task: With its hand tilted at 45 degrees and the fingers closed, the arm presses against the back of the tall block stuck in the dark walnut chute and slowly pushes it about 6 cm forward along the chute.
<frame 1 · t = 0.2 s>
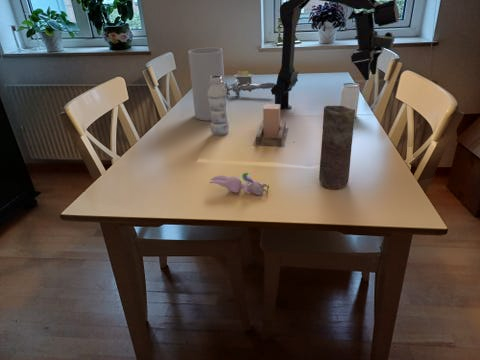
hand: (370, 77, 123), 15 cm above the table, fingers open, 9 cm apart
plastic bottle: (220, 135, 123), on the table
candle: (332, 183, 91), on the table
can: (347, 116, 134), on the table
cylinder vase: (210, 116, 141), on the table
block: (271, 121, 116), point 6 cm above the table, slide at 0.0 cm
purple toy figure: (239, 192, 89), on the table
platform: (244, 84, 185), on the table
spaceship: (238, 97, 164), on the table
chute: (271, 138, 118), on the table
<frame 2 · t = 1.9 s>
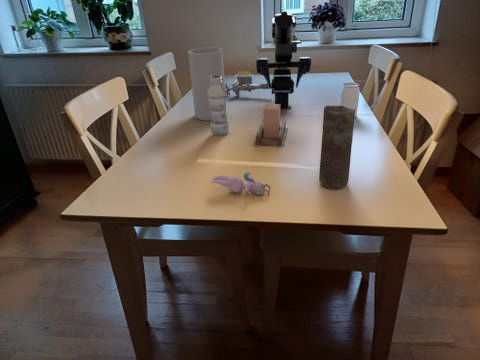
hand: (283, 87, 121), 14 cm above the table, fingers open, 9 cm apart
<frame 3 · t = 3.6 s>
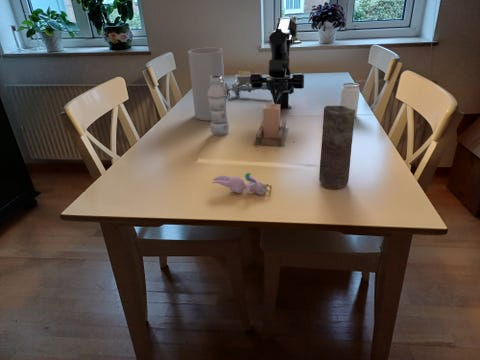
hand: (275, 102, 122), 9 cm above the table, fingers closed
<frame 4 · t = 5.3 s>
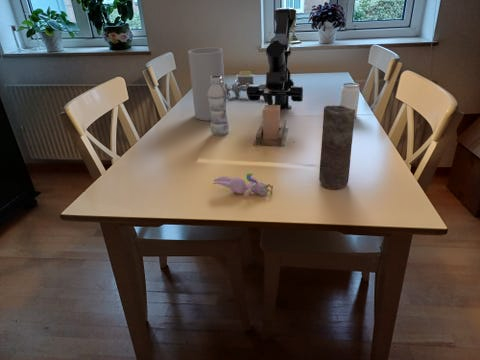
hand: (272, 116, 117), 7 cm above the table, fingers closed, pressing on block
block: (271, 122, 115), point 6 cm above the table, slide at 1.0 cm, touching gripper
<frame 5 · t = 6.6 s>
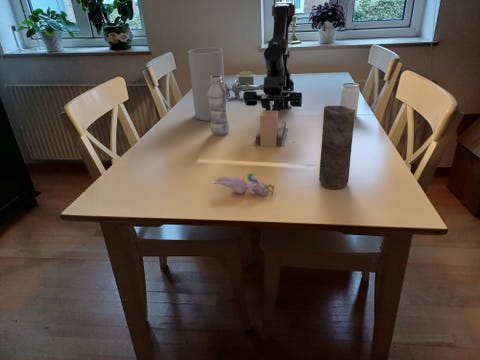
hand: (270, 122, 112), 7 cm above the table, fingers closed, pressing on block
block: (269, 128, 110), point 6 cm above the table, slide at 6.7 cm, touching gripper
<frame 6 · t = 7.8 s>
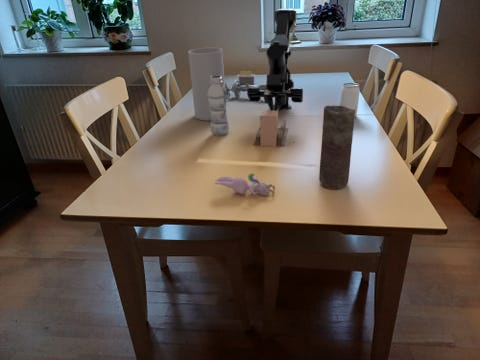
hand: (273, 117, 119), 6 cm above the table, fingers closed
block: (269, 128, 110), point 6 cm above the table, slide at 6.7 cm
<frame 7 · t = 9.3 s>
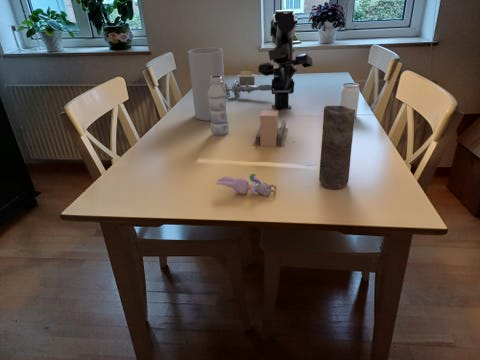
hand: (285, 89, 124), 13 cm above the table, fingers closed
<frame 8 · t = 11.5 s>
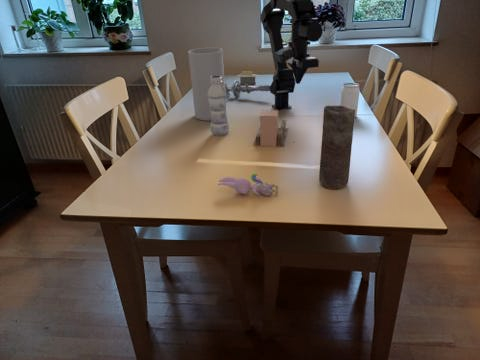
hand: (297, 83, 129), 13 cm above the table, fingers closed
at the end: block slide at 6.7 cm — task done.
